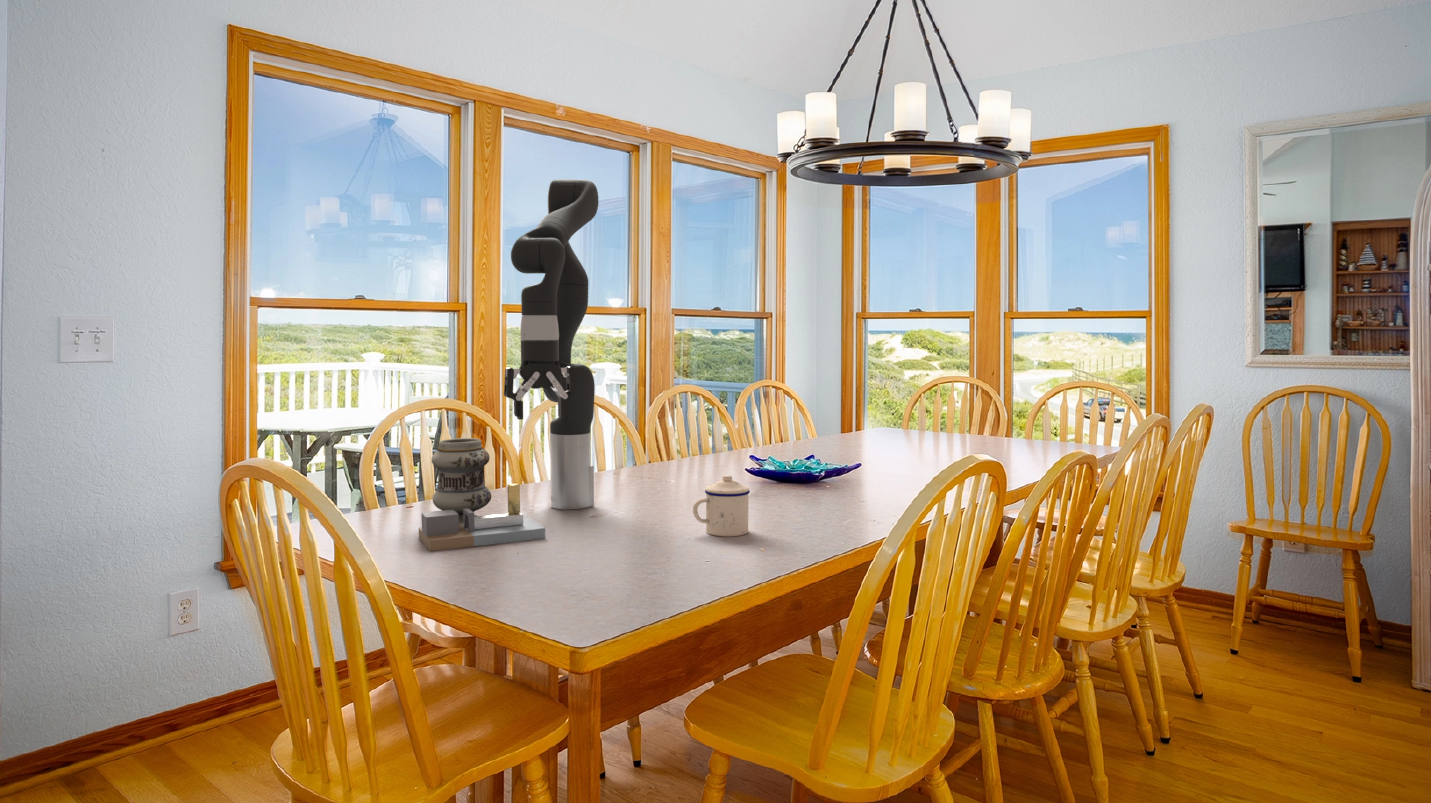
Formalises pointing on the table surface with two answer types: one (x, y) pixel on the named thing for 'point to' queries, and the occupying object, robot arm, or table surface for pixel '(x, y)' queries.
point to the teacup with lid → (725, 508)
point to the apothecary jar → (461, 475)
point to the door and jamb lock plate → (471, 531)
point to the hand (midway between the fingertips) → (540, 418)
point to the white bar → (504, 519)
